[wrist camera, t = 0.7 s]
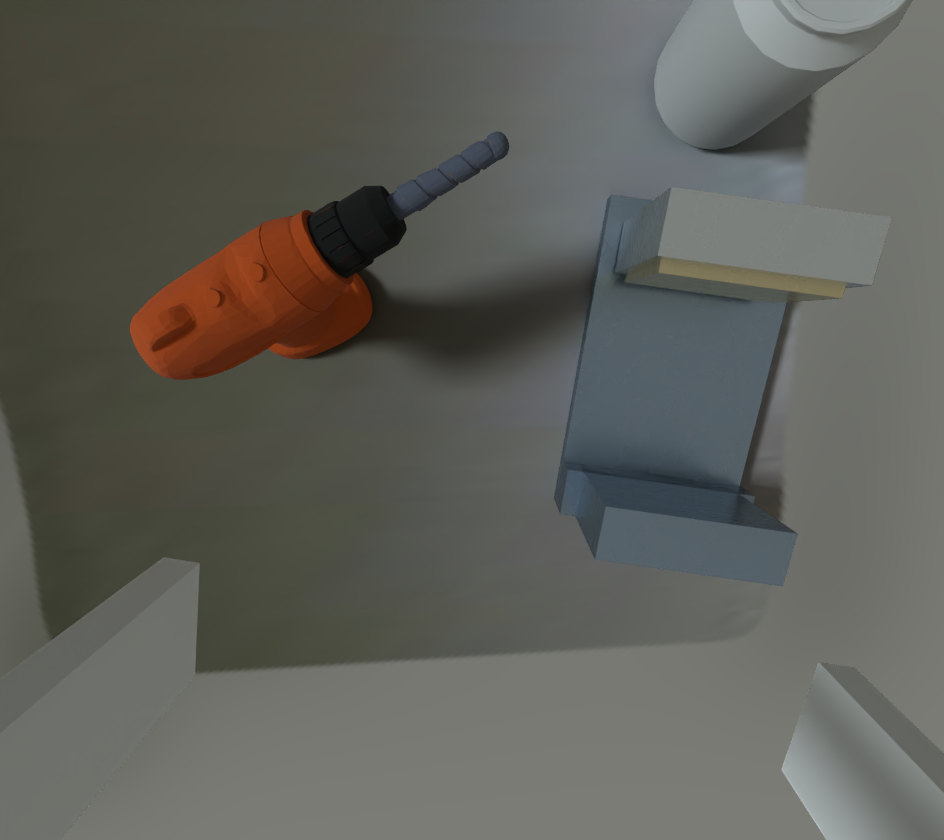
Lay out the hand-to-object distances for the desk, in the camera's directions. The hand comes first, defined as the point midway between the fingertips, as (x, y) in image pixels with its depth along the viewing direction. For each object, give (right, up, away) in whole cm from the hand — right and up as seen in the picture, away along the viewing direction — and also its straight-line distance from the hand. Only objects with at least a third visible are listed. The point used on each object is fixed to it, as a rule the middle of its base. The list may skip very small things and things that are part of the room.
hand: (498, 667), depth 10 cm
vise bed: (+13, +9, +22) cm, 27 cm away
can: (+14, +25, +19) cm, 35 cm away
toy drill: (-7, +14, +22) cm, 27 cm away
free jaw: (+13, +15, +20) cm, 28 cm away
